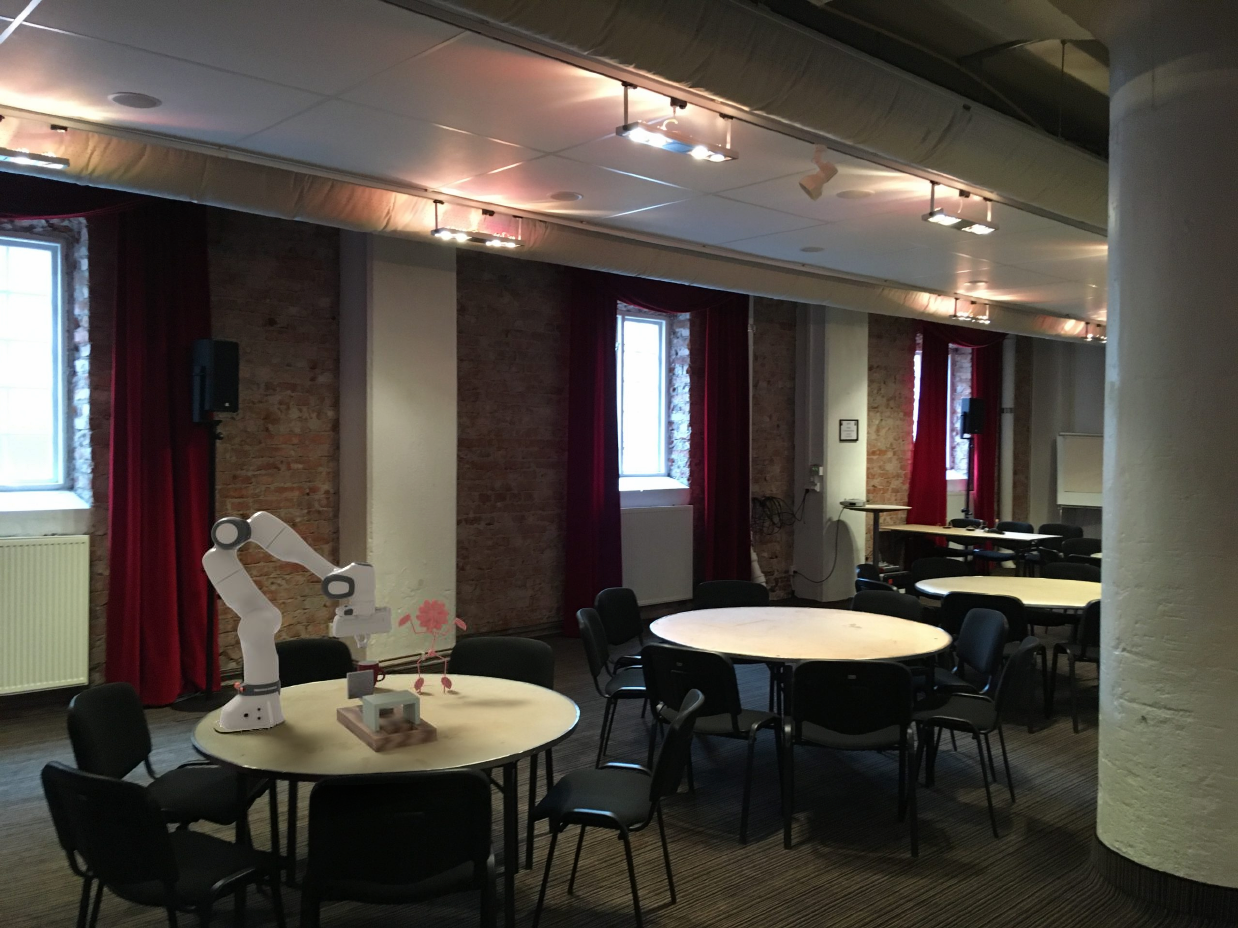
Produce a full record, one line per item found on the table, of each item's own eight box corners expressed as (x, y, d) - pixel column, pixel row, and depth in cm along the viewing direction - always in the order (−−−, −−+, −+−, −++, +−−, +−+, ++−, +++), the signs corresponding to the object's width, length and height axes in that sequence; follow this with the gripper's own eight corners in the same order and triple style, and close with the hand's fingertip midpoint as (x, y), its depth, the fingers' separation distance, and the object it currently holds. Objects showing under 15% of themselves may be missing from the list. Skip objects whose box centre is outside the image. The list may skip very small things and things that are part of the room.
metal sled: (367, 716, 321) (367, 686, 320) (347, 701, 340) (346, 673, 339) (393, 712, 326) (393, 682, 325) (372, 697, 345) (372, 669, 344)
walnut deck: (375, 751, 297) (375, 738, 297) (336, 720, 332) (336, 708, 332) (436, 740, 308) (436, 728, 308) (393, 710, 342) (393, 699, 342)
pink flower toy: (466, 693, 365) (465, 600, 365) (397, 696, 363) (396, 603, 363) (468, 684, 381) (467, 595, 381) (401, 686, 378) (400, 597, 378)
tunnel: (374, 731, 305) (374, 704, 305) (362, 722, 315) (362, 696, 315) (420, 723, 313) (419, 697, 313) (407, 714, 323) (406, 689, 323)
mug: (386, 684, 380) (386, 659, 380) (385, 690, 372) (384, 664, 372) (359, 686, 378) (358, 660, 378) (356, 691, 370) (356, 665, 370)
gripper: (388, 604, 346) (388, 642, 346) (331, 609, 335) (330, 648, 336) (394, 606, 341) (394, 645, 341) (336, 611, 330) (336, 652, 330)
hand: (362, 647), depth 338 cm, fingers closed
